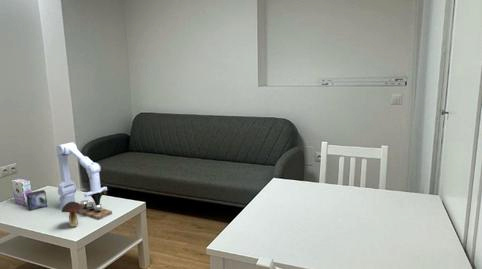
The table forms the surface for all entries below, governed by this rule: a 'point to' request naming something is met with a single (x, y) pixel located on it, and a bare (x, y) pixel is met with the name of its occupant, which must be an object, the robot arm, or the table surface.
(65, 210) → the decorative mushroom
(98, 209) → the button
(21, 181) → the candy box
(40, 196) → the small box
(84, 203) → the button
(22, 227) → the table surface
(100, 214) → the button panel
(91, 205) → the button middle
